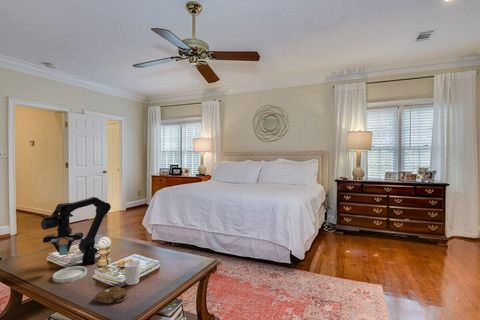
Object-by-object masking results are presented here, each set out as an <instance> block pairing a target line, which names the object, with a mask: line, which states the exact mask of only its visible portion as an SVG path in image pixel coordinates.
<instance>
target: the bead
mask: <svg viewBox="0 0 480 320" xmlns="http://www.w3.org/2000/svg"><path fill="white" fill-rule="evenodd" d="M68 254H69V252H68V243H63V244H59V253H58V255H59V256H65V255H68Z"/></svg>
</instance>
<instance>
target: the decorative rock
mask: <svg viewBox="0 0 480 320" xmlns="http://www.w3.org/2000/svg"><path fill="white" fill-rule="evenodd" d="M126 297H128V292H127V290H125V288H122V287H116V286H112V287H109V288H105V289H103V290H102V291H100V292H98V293H97V294H96V295H95V296H94V297H93V300H94V301H95V302H98V303H101V304H102V303H105V304H111V303H114V302H115V303H122V302H123V301H126Z"/></svg>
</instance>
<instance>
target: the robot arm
mask: <svg viewBox="0 0 480 320" xmlns="http://www.w3.org/2000/svg"><path fill="white" fill-rule="evenodd" d="M92 205H93V206H94V207H95V216H94V219H93V220H92V222H91V225H90V226H89V227H90V228H89V230H88V232H87V234H86V236H85V237H84V233H83V232H75V233H74V234H72V233H73V228H71V226H70V218H72V217H74V215H73V214H72V213H73V212H74V211H76V210H77V209H81V208H85V207H89V206H92ZM111 208H112V207H111V203H110V202H106V201H104V200H101V199H100V198H98V197H96V196H91V197H89V198H86V199H82V200H78V201H74V202H63V203H59V204H57V205H56V206H55V210H54V211H52V213H51V215H50V216H43V217H42V220H41V222H40V227H41V229H42V230H43V231H44V230H45V231H46V230H49V229H53V228H56V231H57V235H55V234H46V235H45V236H44V237H43V238H42V243H43V244H45V243H50V244H52V245H53V246H54V248H55V249H56V251H57V253H58V254H59V246H60V240H66V239H67V240H68V241H67V244H68V253H69V252H70V249H71V248H72V244H73V242H75V241H78V240H79V241H80V242H79V244H78V250H79V251H80V253H82V254H83V256H82V257H81V258H82V259H81V261H82V263H81V264H82V266H89V265H95V264H96V261H97V259H96V255H97V254H98V250H99V249H97V248H96V247H95V243H96V240H95V239H96V236H97V234H98V231H99V229H100V226H101V224H102V222H103V220H104V217H105V216H106V215H107V214H108V213H109V212H110V210H111ZM83 237H84V238H83Z"/></svg>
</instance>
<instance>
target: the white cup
mask: <svg viewBox="0 0 480 320" xmlns="http://www.w3.org/2000/svg"><path fill="white" fill-rule="evenodd" d="M140 274H141V262H140V261H138V260H131V261H127V262H126V263H125V264H124V278H125V283H126V282H127V284H126V285H127V286H133V285H136V284H138V283H139V282H140V276H141V275H140Z"/></svg>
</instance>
